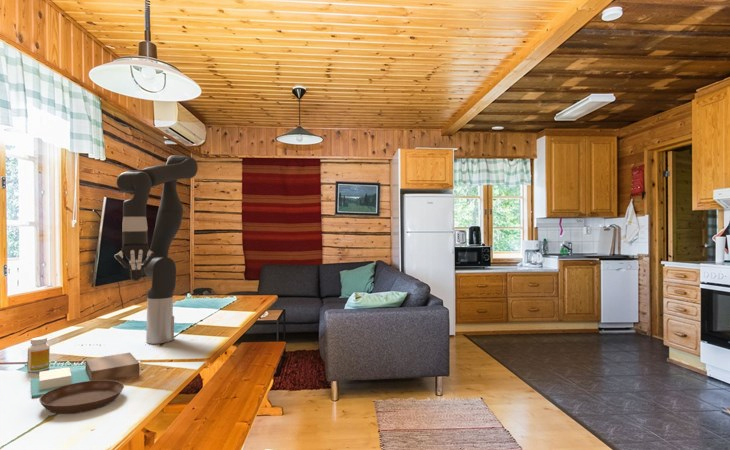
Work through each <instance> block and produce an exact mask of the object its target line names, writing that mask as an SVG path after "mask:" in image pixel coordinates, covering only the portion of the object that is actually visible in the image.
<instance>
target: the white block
mask: <svg viewBox="0 0 730 450" xmlns="http://www.w3.org/2000/svg"><path fill="white" fill-rule="evenodd" d="M71 372H72V371H71V369H70V367H63V368H62V367H61V368H56V369H50V370H49V369H47V370H44V371H40V372H38V373H39V375H38V376H39V377H38V378H39V390H42V389H47V388H53V387H58V386H64V385H69V384H71Z"/></svg>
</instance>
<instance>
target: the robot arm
mask: <svg viewBox="0 0 730 450" xmlns="http://www.w3.org/2000/svg"><path fill="white" fill-rule="evenodd" d="M198 167H199V166H198V162H197V160H196V159H195V158H193V157H190V156H187V155H179V154H178V155H177V154H175V155H174V154H173V155H169V156H168V157H167V161H166V163H165V164H160V165H158V164H157V165H154V166H150V167H149V166H148V167H145V168H142V169H136V170H128V171H124V172H122V173H120V174H119V175H118V176H117V178H116V185H117V188H118V189H119V190H120V191H121V192H124V193H128V194H129V193H131V194H132V193H134V194H133V197H132V198H128V199H126V200H124V201H123V203H122V229H121V230H122V231H121V233H122V235H121V236H122V246H121V248H120V251H119V252H117V253H116V254H114V255H113V257H114V258H115V260H117V261H118V262H119V263H120V265H121V266H122V267H123V268H124V269H127V270H129V271H130V279H131V280H132V281H133V282H138V281H140V280H141V278H142V277H141V275H142V274H141V273H142V271H141V270H142V269H144V273H145V276H147V278H149V279H151V287H150V289H148V290H147V293H146V332H145V333H146V335H145V337H146V341H145V342H146V343H147V344H152V345H153V344H154V345H155V344H157V345H158V344H164V343H168V342H172V341H174V340H175V316H174V291H175V289H176V285H177V283H176V282H177V266H176V262H175V261H174V260H173V259H172V258H171V257H169V250H170V247H171V244H172V242H173V240H174V239H175V237H176V235H177V234H178V233H179V232H178V231H179V230H180V228H181V225H182V220H183V215H184V208H183V204H182V201H181V199H180V196H179V194H178V189H177V181H178V180H184V179H186V180H187V179H193V178H195V177H196V175H197V173H198V170H199V169H198ZM159 185H162V192H161V197H160V202H159V206H158V210H157V213H156V214H157V215H156V219H155V224H154V225H155V227H154V230H153V234H152V240H151V244H150V247H149V244H148V230H149V227H148V220H147V204H148V200H149V197H150V193H151V189H152V188H154V187H157V186H159ZM124 256H125V258H126V259H127V260H128V263H129V264H128V263H127V262H126V261H125V260H124V259H123V258H124ZM145 256H146V258H145ZM144 258H145V260H143V259H144ZM142 261H143V262H142ZM139 279H140V280H139Z"/></svg>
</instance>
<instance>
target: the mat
mask: <svg viewBox="0 0 730 450" xmlns="http://www.w3.org/2000/svg"><path fill="white" fill-rule="evenodd" d="M70 372H71V384H74V383H79V382H85V381H90V380H89V377H88V375H87V373H86V371H85V369H82V370H75V371H70ZM64 386H65V385H64ZM30 387H31V388H30V389H31V399H35V398H40V397H41V396H42V395H43V394H45V393H47V392H49V391H51V390H53V389H56V388H59V387H62V386H58V387H53V388H47V389H42V390H39V377H33V378H31V379H30Z"/></svg>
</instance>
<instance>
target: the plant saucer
mask: <svg viewBox="0 0 730 450" xmlns="http://www.w3.org/2000/svg"><path fill="white" fill-rule="evenodd" d="M124 388H125V385H124V384H123V383H122V382H121V381H111V380H95V381H85V382H79V383H74V384H69V385H65V386H62V387H59V388H56V389H53V390H51V391H49V392H47V393H45V394H43V395H42V396H41V397H39V403H40V404H41V406H42V407H43V408H44V409H46V410H47V411H48V412H50V413H53V414H57V415H72V414H74V415H75V414H81V413H86V412H91V411H94V410H98V409H100V408H103V407H105V406H108V405H109V404H111V403H112V402H114V401H115V400H116V399H117V398H118V397H119V395H120V394H121V393H122V391H123V390H124Z"/></svg>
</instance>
